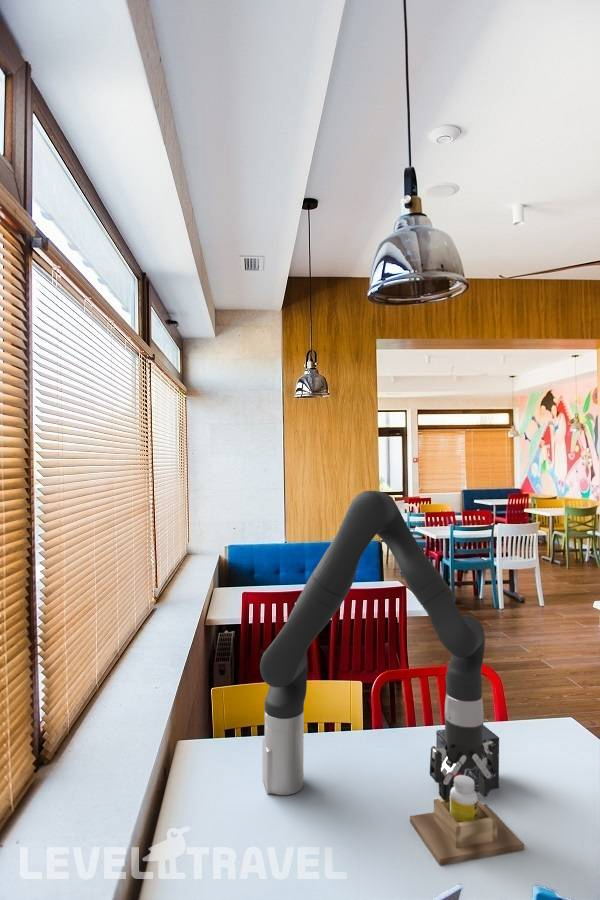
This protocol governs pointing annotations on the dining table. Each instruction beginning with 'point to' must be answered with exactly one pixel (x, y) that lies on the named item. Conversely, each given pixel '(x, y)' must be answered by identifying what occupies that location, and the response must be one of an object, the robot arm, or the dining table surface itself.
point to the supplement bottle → (463, 799)
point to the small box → (475, 772)
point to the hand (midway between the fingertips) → (464, 797)
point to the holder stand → (464, 834)
